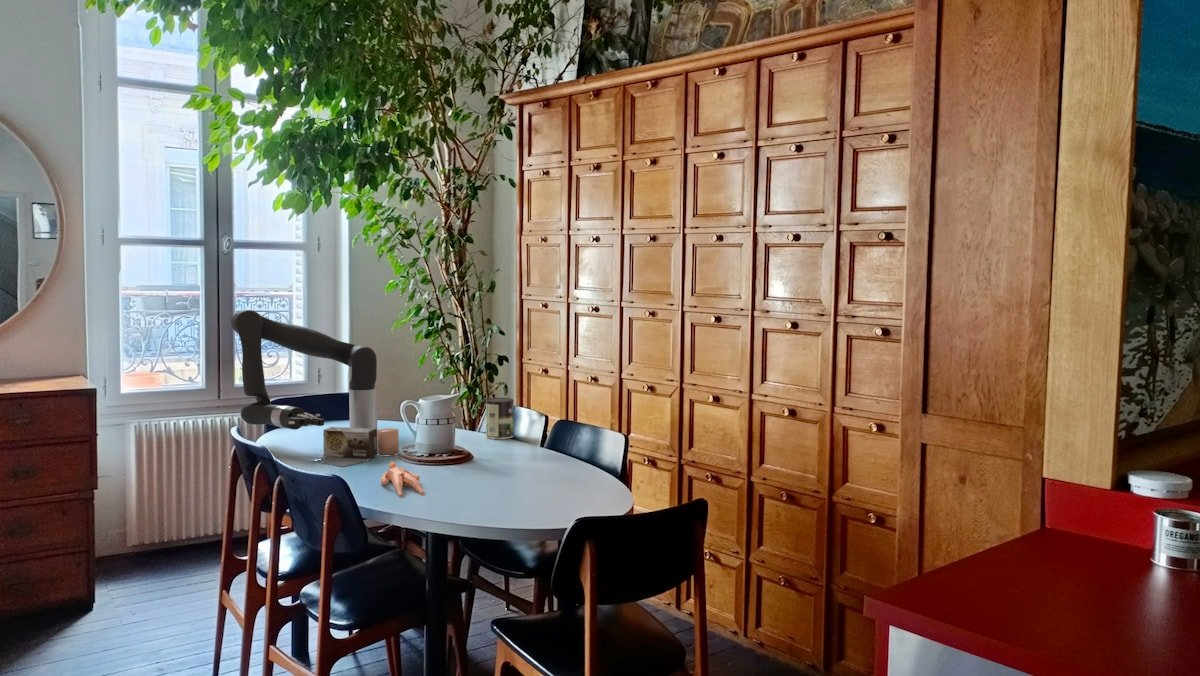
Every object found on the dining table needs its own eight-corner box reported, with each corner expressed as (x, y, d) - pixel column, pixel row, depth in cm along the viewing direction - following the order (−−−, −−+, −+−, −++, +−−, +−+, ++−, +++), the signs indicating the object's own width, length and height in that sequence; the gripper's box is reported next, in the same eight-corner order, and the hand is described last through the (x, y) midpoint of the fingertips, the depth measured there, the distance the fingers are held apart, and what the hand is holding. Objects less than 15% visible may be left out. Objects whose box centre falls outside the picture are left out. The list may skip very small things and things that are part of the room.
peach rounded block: (388, 450, 296) (388, 427, 295) (403, 453, 292) (402, 429, 292) (372, 454, 290) (372, 430, 289) (387, 457, 286) (387, 433, 286)
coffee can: (514, 434, 327) (515, 397, 326) (511, 439, 317) (511, 401, 316) (487, 434, 327) (487, 397, 326) (483, 439, 317) (483, 401, 316)
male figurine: (392, 487, 236) (373, 460, 258) (392, 504, 237) (373, 476, 259) (431, 483, 241) (409, 457, 263) (430, 500, 241) (408, 473, 263)
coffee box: (331, 452, 290) (377, 455, 288) (322, 456, 284) (369, 459, 281) (331, 425, 289) (377, 428, 287) (323, 429, 283) (369, 432, 281)
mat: (340, 454, 289) (340, 453, 289) (371, 460, 281) (371, 459, 281) (311, 461, 279) (311, 460, 279) (343, 467, 271) (342, 466, 271)
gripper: (271, 408, 287) (305, 414, 278) (303, 403, 298) (338, 408, 289) (271, 431, 288) (306, 437, 279) (304, 425, 299) (338, 430, 290)
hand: (322, 422), depth 284 cm, fingers closed
